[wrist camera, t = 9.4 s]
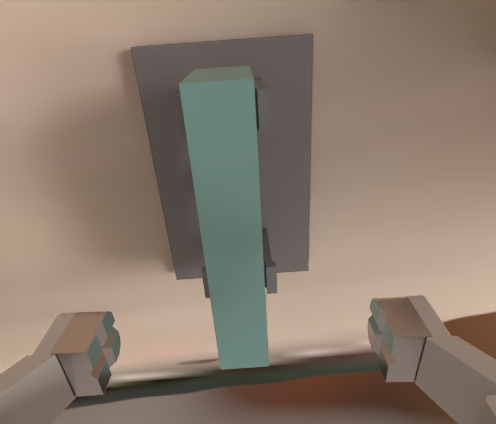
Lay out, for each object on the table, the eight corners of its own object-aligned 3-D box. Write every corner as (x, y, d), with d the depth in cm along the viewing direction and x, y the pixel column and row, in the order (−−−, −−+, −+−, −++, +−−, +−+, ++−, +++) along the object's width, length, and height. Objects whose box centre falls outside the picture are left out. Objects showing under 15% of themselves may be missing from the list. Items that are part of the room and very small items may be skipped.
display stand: (309, 34, 20) (333, 35, 15) (306, 262, 27) (321, 314, 22) (135, 46, 20) (102, 51, 15) (178, 271, 27) (166, 324, 22)
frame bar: (249, 65, 16) (254, 78, 12) (262, 300, 22) (269, 366, 18) (194, 69, 16) (178, 84, 12) (223, 302, 22) (220, 369, 18)
